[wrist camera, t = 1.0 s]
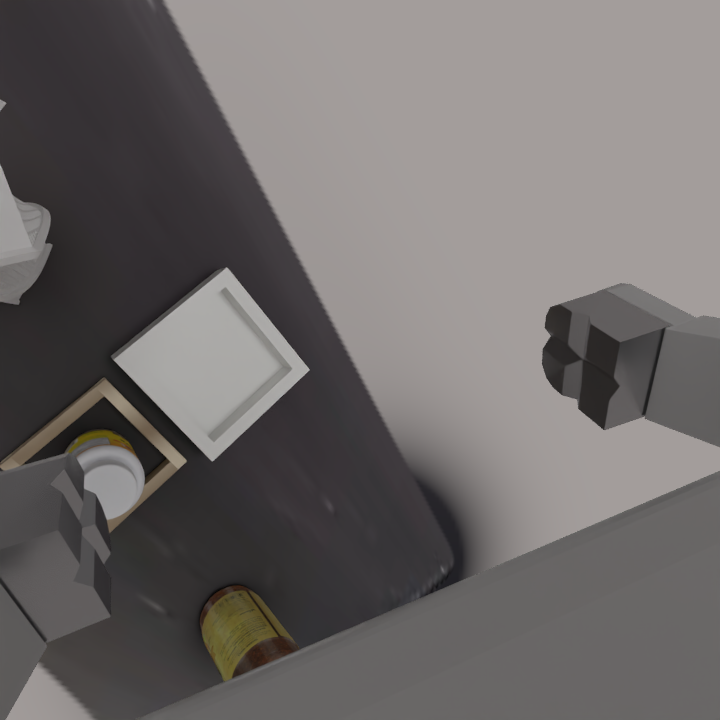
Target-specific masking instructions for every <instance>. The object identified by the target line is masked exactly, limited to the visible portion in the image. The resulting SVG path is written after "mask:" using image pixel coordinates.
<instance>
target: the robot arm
mask: <svg viewBox="0 0 720 720" xmlns="http://www.w3.org/2000/svg"><path fill="white" fill-rule="evenodd" d="M545 329H546V330H547V331H548V333H549V334H550V335H551V337H550V338H549V340H548V341H547V343H546V345H545V346H544V348H543V359H542V365H543V368H544V372H545V375H546V378H547V379H548V381H549V382H550V384H551V385H552V387H553V388H554V389H556V390H557V391H558V392H559V393H560V394H561V395H564V396H567V397H571V398H575V399H577V401H578V409H579V410H581V411H582V412H583V413H584V414H585V415H586V416H588V417H589V418H590V419H591V420H592V421H594V422H595V423H596V424H597V425H598V426H600V427H601V428H602V429H603V430H606V429H609V428H612V427H615V426H618V425H621V424H624V423H626V422H630V421H633V420H636V419H638V418H641V417H644V416H645V419H647V420H650V421H652V422H655V423H658V424H660V425H663V426H665V427H668V428H671V429H673V430H676V431H679V432H681V433H684V434H686V435H689V436H692V437H694V438H697V439H700V440H702V441H705V442H708V443H710V444H713V445H716V446H718V447H720V318H715V317H709V316H701V317H698V318H696V317H694V316H692V315H690V314H688V313H686V312H684V311H682V310H680V309H678V308H676V307H674V306H672V305H670V304H668V303H666V302H664V301H663V300H661V299H658V298H657V297H655V296H653V295H651V294H649V293H647V292H645V291H643V290H641V289H639V288H637V287H635V286H633V285H631V284H622V283H621V284H617V285H615V286H612V287H609V288H606V289H603V290H600V291H598V292H596V293H593V294H590V295H587V296H584V297H580V298H577V299H574V300H571V301H568V302H565V303H561V304H558V305H555V306H552V307H550V309H549V311H548V313H547V315H546V322H545ZM110 554H111V544H110V534H109V529H108V523H107V519H106V516H105V513H104V511H103V508H102V505H101V503H100V501H99V499H98V497H97V495H96V494H95V493H93V492H91V491H88V490H86V489H84V471H83V469H82V467H81V465H80V464H79V462H78V460H77V458H76V457H75V456H74V455H73V454H71V453H70V452H68V453H65V454H61V455H58V456H54V457H51V458H47V459H44V460H40V461H37V462H33V463H30V464H26V465H23V466H19V467H15V468H12V469H8V470H5V471H1V472H0V720H5V719H6V718H7V716H8V714H9V712H10V711H11V709H12V707H13V705H14V704H15V702H16V700H17V698H18V697H19V695H20V693H21V691H22V690H23V688H24V686H25V684H26V683H27V681H28V679H29V677H30V676H31V674H32V672H33V670H34V669H35V667H36V665H37V663H38V662H39V660H40V658H41V656H42V654H43V653H44V651H45V649H46V647H47V645H46V643H47V642H50V641H52V640H54V639H57V638H59V637H62V636H64V635H67V634H69V633H72V632H74V631H77V630H79V629H82V628H84V627H86V626H89V625H91V624H94V623H96V622H99V621H101V620H104V619H106V618H109V617H111V577H110V575H109V573H108V572H107V570H106V568H105V566H104V563H105V561H106V560H107V558H108V557H109V555H110ZM135 720H720V471H718V472H716V473H714V474H711V475H709V476H707V477H704V478H702V479H700V480H698V481H695V482H693V483H690V484H688V485H686V486H683V487H681V488H679V489H676V490H674V491H671V492H669V493H667V494H664V495H662V496H660V497H658V498H655V499H653V500H650V501H648V502H646V503H643V504H641V505H639V506H636V507H634V508H632V509H629V510H627V511H624V512H622V513H620V514H617V515H615V516H613V517H610V518H608V519H606V520H603V521H601V522H599V523H596V524H594V525H592V526H589V527H587V528H585V529H582V530H580V531H577V532H575V533H573V534H570V535H568V536H566V537H563V538H561V539H559V540H556V541H554V542H552V543H549V544H547V545H545V546H543V547H540V548H538V549H535V550H533V551H531V552H528V553H526V554H524V555H521V556H519V557H517V558H514V559H512V560H510V561H507V562H505V563H502V564H500V565H497V566H495V567H493V568H491V569H488V570H486V571H483V572H481V573H479V574H476V575H474V576H472V577H469V578H467V579H465V580H462V581H460V582H458V583H455V584H453V585H450V586H448V587H446V588H443V589H441V590H439V591H436V592H434V593H432V594H429V595H427V596H425V597H422V598H420V599H417V600H415V601H413V602H410V603H408V604H406V605H403V606H401V607H399V608H396V609H394V610H392V611H389V612H387V613H385V614H382V615H380V616H377V617H375V618H373V619H370V620H368V621H366V622H363V623H361V624H359V625H356V626H354V627H352V628H349V629H347V630H345V631H342V632H340V633H338V634H335V635H333V636H330V637H328V638H326V639H323V640H321V641H319V642H316V643H314V644H312V645H309V646H307V647H305V648H302V649H300V650H298V651H295V652H293V653H290V654H288V655H286V656H283V657H281V658H279V659H276V660H274V661H272V662H269V663H267V664H265V665H262V666H260V667H258V668H255V669H253V670H251V671H248V672H246V673H243V674H241V675H239V676H236V677H234V678H232V679H229V680H227V681H225V682H222V683H220V684H218V685H215V686H213V687H211V688H208V689H206V690H204V691H201V692H199V693H196V694H194V695H192V696H189V697H187V698H185V699H182V700H180V701H178V702H175V703H173V704H171V705H168V706H166V707H164V708H161V709H159V710H157V711H154V712H152V713H149V714H147V715H145V716H142V717H140V718H138V719H135Z"/></svg>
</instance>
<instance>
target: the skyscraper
mask: <svg viewBox="0 0 720 720" xmlns="http://www.w3.org/2000/svg"><path fill="white" fill-rule="evenodd" d="M5 104H6V102H4V101H2V100H0V111H1V110H2V108H3V107H4V105H5ZM50 221H51V217H50V213H49V211H48V210H47V209H45V208H44V207H42V206H40V205H38V204H36V203H24V202H22V201H20V200H19V199H17V198H16V197H14V196H13V195H12V193H11V190H10V188H9V185H8V183H7V180H6V178H5V175H4V173H3V170H2V168H1V165H0V302H4V303H10V304H16V305H19V303H20V301H19V299H20V297H21V296H22V294H23V293H24V292H25V291H26V290H28V289H29V288H30V287H31V286H32V285H33V283H34V282H35V281H36V280H37V278H38V277H39V275H40V273H41V272H42V270H43V268H44V266H45V264H46V261H47V259H48V256H49V254H50V251H51V249H52V244H49V243H48V244H46V243H45V241H46V238H47V235H48V231H49V227H50Z"/></svg>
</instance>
